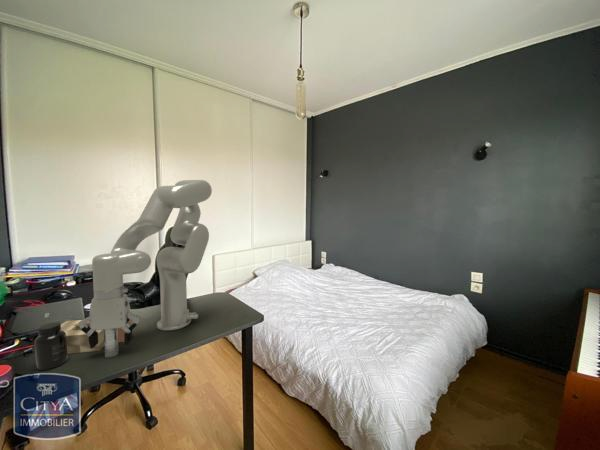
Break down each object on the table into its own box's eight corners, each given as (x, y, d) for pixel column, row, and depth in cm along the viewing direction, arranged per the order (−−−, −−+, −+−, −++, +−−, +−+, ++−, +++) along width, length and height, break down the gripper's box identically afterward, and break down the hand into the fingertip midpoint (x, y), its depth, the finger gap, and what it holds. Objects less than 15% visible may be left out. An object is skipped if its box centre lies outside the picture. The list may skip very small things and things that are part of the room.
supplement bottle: (68, 354, 81) (66, 318, 81) (67, 364, 76) (65, 326, 75) (37, 362, 77) (35, 324, 76) (34, 374, 72) (31, 333, 71)
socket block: (117, 332, 95) (116, 317, 95) (99, 350, 84) (98, 333, 83) (67, 336, 92) (66, 320, 91) (41, 356, 80) (40, 338, 80)
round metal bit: (120, 350, 84) (119, 321, 83) (115, 356, 80) (113, 326, 80) (108, 351, 83) (107, 322, 82) (102, 358, 80) (101, 327, 79)
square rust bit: (132, 334, 94) (131, 311, 93) (127, 341, 90) (126, 316, 89) (119, 336, 93) (117, 312, 92) (112, 342, 89) (111, 317, 88)
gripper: (143, 287, 86) (145, 336, 87) (84, 290, 82) (87, 341, 83) (134, 295, 78) (136, 348, 80) (69, 299, 75) (72, 354, 76)
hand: (111, 344), depth 82 cm, fingers open, 9 cm apart
